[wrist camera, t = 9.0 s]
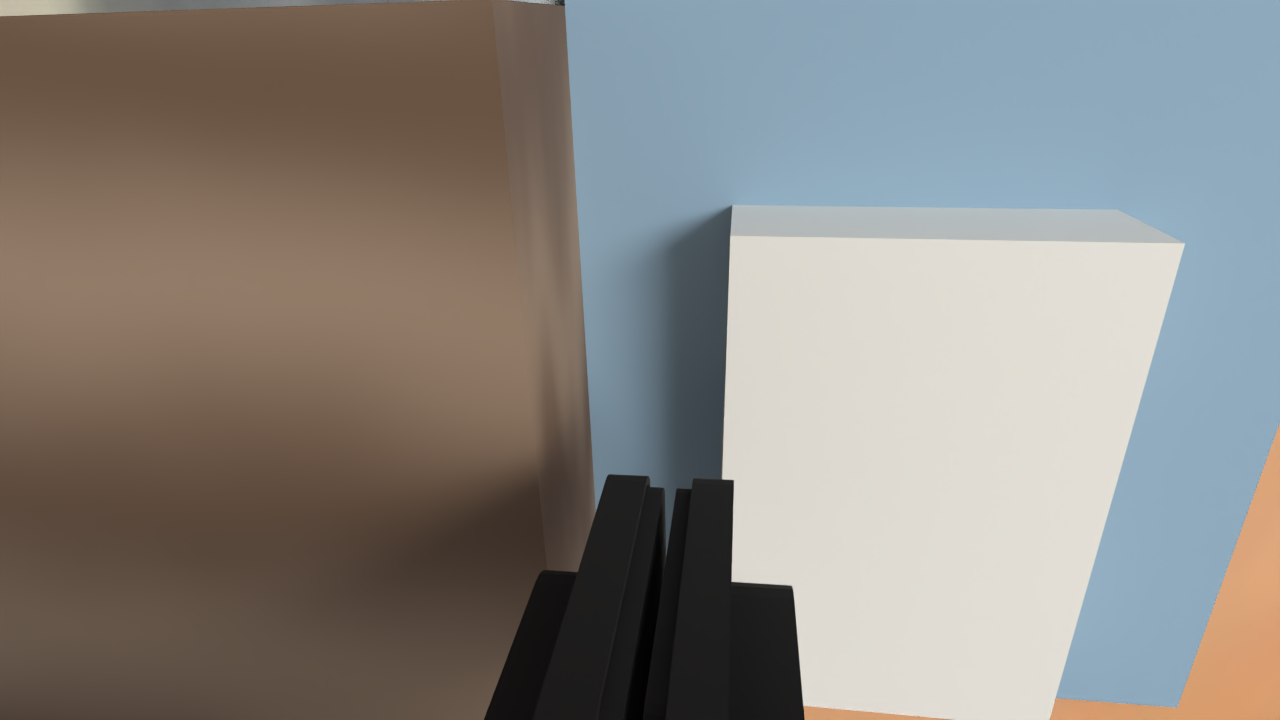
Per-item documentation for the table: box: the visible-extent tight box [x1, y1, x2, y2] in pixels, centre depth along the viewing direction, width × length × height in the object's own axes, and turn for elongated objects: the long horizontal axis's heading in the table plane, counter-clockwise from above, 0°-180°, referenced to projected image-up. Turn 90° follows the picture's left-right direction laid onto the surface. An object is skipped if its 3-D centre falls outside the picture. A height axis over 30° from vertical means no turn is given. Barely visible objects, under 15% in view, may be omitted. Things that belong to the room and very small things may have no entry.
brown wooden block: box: [0, 0, 596, 720], centre depth 14 cm, size 14×18×4 cm
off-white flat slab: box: [721, 205, 1185, 720], centre depth 13 cm, size 9×6×2 cm, turn 1°
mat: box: [564, 0, 1280, 708], centre depth 14 cm, size 14×12×1 cm
